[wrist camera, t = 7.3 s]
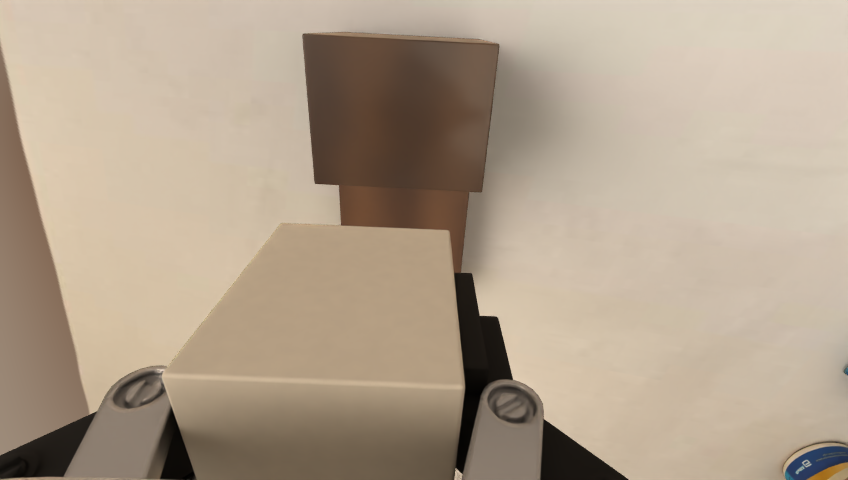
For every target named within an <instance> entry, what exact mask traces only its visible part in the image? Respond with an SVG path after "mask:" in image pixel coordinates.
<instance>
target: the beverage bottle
mask: <svg viewBox="0 0 848 480" xmlns="http://www.w3.org/2000/svg"><path fill="white" fill-rule="evenodd" d="M783 474H784V477H785V478H786V480H848V446H846V445H843V444H839V443H821V444H816V445H812V446H809V447H806V448H804V449H802V450H800V451H798V452H796V453H795V454H793V455H792V456H791V457H790V458H789V459H788V460H787V461H786V463H785V464H784V467H783Z"/></svg>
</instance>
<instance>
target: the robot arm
mask: <svg viewBox="0 0 848 480" xmlns="http://www.w3.org/2000/svg"><path fill="white" fill-rule="evenodd" d="M454 280H455V290H456V300H457V310H458V320H459V330H460V340H461V350H462V360H463V370H464V380H465V393H464V401H463V409H462V418H461V426H460V434H459V443H458V451H457V459H456V468H457V469H458V470H459V471H460V472H461V473H462V474H463V476H462V480H628V479H627V478H626V477H624V476H623V475H622V474H620V473H619V472H617V471H616V470H615V469H613V468H612V467H610V466H609V465H608V464H606V463H605V462H603V461H602V460H601V459H599V458H598V457H596V456H595V455H593V454H592V453H591V452H589V451H588V450H586V449H585V448H584V447H582V446H581V445H579V444H578V443H577V442H575V441H574V440H572V439H571V438H570V437H568V436H567V435H565V434H564V433H563V432H561V431H560V430H558V429H557V428H556V427H554V426H553V425H551V424H550V423H549V422H547V421H546V420H544V419H543V417H544V409H543V403H542V401H541V399H540V397H539V396H538V395H537V394H536V393H535V391H534V390H533V389H531V388H530V387H528V386H527V385H525V384H523V383H521V382H518V381H515V380H513V378H512V374H511V370H510V365H509V361H508V357H507V353H506V349H505V345H504V340H503V336H502V332H501V328H500V324H499V320H498V318H497V317H494V316H479V310H478V304H477V298H476V293H475V287H474V281H473V276H472V273H454ZM209 314H210V313H209ZM205 319H206V318H205ZM201 324H202V323H201ZM190 338H191V337H190ZM175 357H176V356H175ZM166 368H167V366H150V367H146V368H142V369H139V370H137V371H134V372H132V373H130V374H128V375H126V376H125V377H123V378H121V379H120V380H119V381H118V382H116V383H115V384H114V385H113V386H112V387H111V388H110V390H109V391H108V392H107V394H106V395H105V397H104V399H103V401H102V403H101V405H100V407H99V409H98V411H97V412H95V413H92V414H90V415H88V416H86V417H84V418H82V419H79V420H77V421H75V422H73V423H70V424H68V425H66V426H64V427H62V428H60V429H58V430H55V431H53V432H51V433H49V434H47V435H44V436H42V437H40V438H38V439H35V440H33V441H31V442H29V443H27V444H24V445H22V446H20V447H18V448H16V449H13V450H11V451H9V452H7V453H5V454H3V455H1V456H0V480H197V478H196V476H195V473H194V470H193V467H192V464H191V461H190V458H189V455H188V452H187V449H186V447H185V444H184V441H183V438H182V435H181V432H180V429H179V426H178V423H177V421H176V418H175V415H174V412H173V409H172V406H171V403H170V400H169V397H168V394H167V392H166V389H165V386H164V383H163V380H162V374H163V372H164V370H165V369H166Z"/></svg>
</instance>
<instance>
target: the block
mask: <svg viewBox="0 0 848 480" xmlns="http://www.w3.org/2000/svg"><path fill="white" fill-rule="evenodd" d="M162 380H163V383H164V386H165V389H166V392H167V394H168V397H169V400H170V403H171V406H172V409H173V412H174V415H175V418H176V421H177V423H178V426H179V429H180V432H181V435H182V438H183V441H184V444H185V447H186V449H187V452H188V455H189V458H190V461H191V464H192V467H193V470H194V473H195V476H196V478H197V480H454V476H455V468H456V459H457V451H458V443H459V434H460V426H461V418H462V409H463V401H464V393H465V380H464V370H463V360H462V350H461V340H460V330H459V320H458V310H457V300H456V290H455V280H454V270H453V260H452V250H451V240H450V232H449V231H448V230H432V229H409V228H385V227H362V226H338V225H315V224H291V223H281V224H280V225H279V226H278V227H277V229H276V230H275V231H274V233H273V234H272V235H271V236H270V238H269V239H268V240H267V241H266V243H265V244H264V245H263V246H262V248H261V249H260V250H259V252H258V253H257V254H256V255H255V257H254V258H253V259H252V260H251V262H250V263H249V264H248V265H247V267H246V268H245V269H244V270H243V272H242V273H241V274H240V276H239V277H238V278H237V279H236V281H235V282H234V283H233V284H232V286H231V287H230V288H229V289H228V291H227V292H226V293H225V295H224V296H223V297H222V298H221V300H220V301H219V302H218V303H217V305H216V306H215V307H214V308H213V310H212V311H211V312H210V314H209V315H208V316H207V317H206V319H205V320H204V321H203V322H202V324H201V325H200V326H199V327H198V329H197V330H196V331H195V332H194V334H193V335H192V336H191V338H190V339H189V340H188V341H187V343H186V344H185V345H184V346H183V348H182V349H181V350H180V351H179V353H178V354H177V355H176V357H175V358H174V359H173V360H172V362H171V363H170V364H169V365H168V367H167V368H166V369H165V370H164V372H163V374H162Z"/></svg>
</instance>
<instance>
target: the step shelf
mask: <svg viewBox="0 0 848 480" xmlns="http://www.w3.org/2000/svg"><path fill="white" fill-rule="evenodd" d="M302 37H303V49H304V61H305V73H306V85H307V97H308V109H309V121H310V133H311V145H312V157H313V169H314V181H315V184H328V185H339V193H340V211H341V226H362V227H385V228H409V229H432V230H448V231H449V232H450V240H451V250H452V260H453V270H454V273H461V265H462V255H463V246H464V236H465V227H466V217H467V208H468V198H469V192H482V187H483V178H484V170H485V162H486V154H487V145H488V137H489V129H490V120H491V112H492V104H493V95H494V87H495V79H496V71H497V62H498V54H499V44H497V43H492V42H488V41H484V40H480V39H465V38H446V37H427V36H408V35H389V34H370V33H351V32H332V33H308V34H303V35H302Z"/></svg>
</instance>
